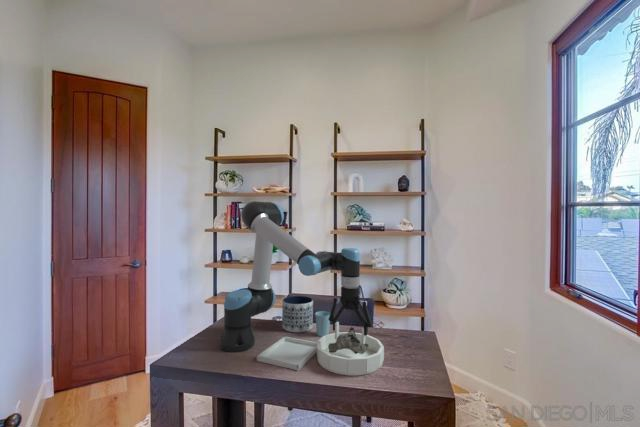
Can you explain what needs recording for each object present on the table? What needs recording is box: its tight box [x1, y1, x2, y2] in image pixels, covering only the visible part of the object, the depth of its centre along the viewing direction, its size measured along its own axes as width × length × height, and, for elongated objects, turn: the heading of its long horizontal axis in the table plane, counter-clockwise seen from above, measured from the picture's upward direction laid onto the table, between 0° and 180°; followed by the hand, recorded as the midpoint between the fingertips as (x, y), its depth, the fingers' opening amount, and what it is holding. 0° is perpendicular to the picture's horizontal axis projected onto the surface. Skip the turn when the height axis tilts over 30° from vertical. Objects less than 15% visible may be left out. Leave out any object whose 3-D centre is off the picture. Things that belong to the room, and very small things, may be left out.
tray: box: [256, 336, 317, 371], centre depth 130 cm, size 19×22×2 cm
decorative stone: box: [328, 327, 368, 354], centre depth 126 cm, size 16×9×10 cm, turn 83°
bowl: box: [316, 331, 385, 377], centre depth 126 cm, size 26×26×6 cm
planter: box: [281, 295, 314, 333], centre depth 162 cm, size 16×16×14 cm
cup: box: [314, 310, 331, 338], centre depth 152 cm, size 8×8×10 cm
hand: (349, 340), depth 126 cm, fingers closed on decorative stone, 11 cm apart
